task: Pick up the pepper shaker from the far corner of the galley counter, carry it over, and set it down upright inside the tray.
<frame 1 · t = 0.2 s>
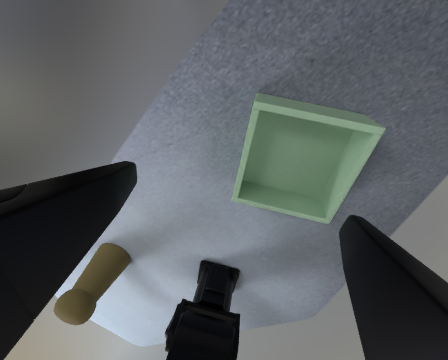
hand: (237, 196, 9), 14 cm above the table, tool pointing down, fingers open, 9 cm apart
tray: (291, 152, 22), on the table
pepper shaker: (115, 254, 38), on the table
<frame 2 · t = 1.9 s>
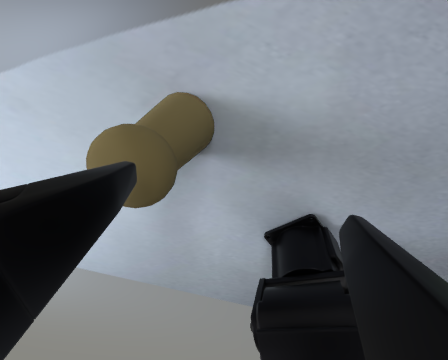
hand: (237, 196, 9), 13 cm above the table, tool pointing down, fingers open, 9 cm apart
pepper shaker: (185, 124, 21), on the table
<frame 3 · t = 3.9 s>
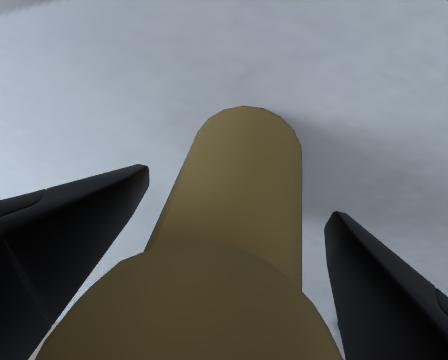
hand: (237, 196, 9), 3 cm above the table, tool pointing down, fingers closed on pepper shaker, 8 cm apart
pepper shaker: (244, 161, 12), on the table, touching gripper
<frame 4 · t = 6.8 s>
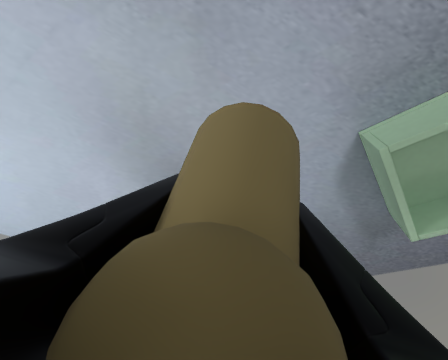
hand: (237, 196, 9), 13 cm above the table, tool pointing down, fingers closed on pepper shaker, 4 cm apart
tray: (439, 152, 18), on the table
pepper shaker: (244, 156, 12), point 9 cm above the table, touching gripper
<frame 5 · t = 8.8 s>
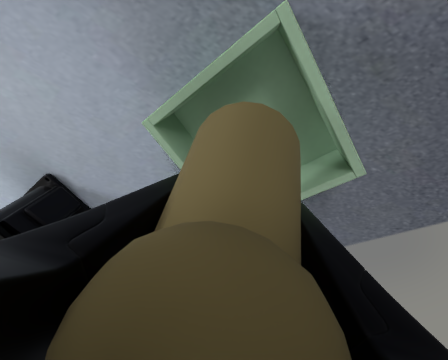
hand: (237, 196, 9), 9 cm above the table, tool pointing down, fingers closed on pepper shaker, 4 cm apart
tray: (253, 127, 17), on the table
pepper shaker: (245, 155, 12), point 5 cm above the table, touching gripper
when the fingers open (4 cm above the table, at t = 10.3 s): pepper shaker stays where it is, resting on tray.
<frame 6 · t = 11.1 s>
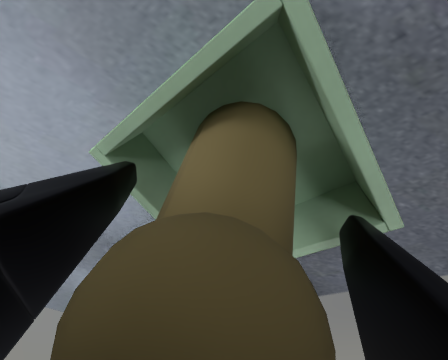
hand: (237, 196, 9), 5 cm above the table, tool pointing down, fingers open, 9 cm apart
tray: (246, 151, 13), on the table
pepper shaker: (243, 154, 12), resting on tray
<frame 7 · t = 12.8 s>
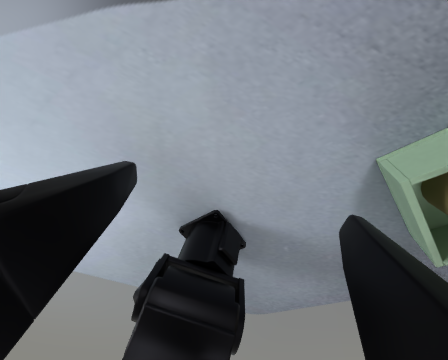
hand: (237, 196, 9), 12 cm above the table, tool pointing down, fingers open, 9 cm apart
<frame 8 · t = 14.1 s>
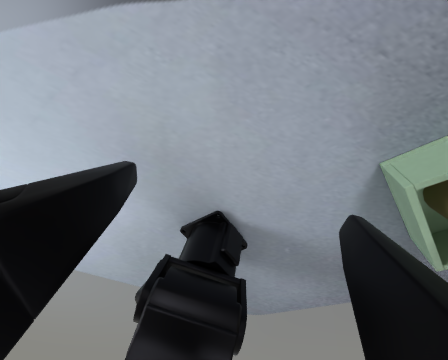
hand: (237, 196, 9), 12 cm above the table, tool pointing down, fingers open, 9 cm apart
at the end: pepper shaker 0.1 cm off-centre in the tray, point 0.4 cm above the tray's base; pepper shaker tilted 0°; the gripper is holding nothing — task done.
